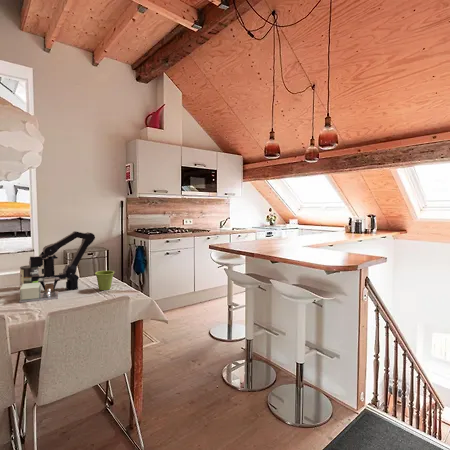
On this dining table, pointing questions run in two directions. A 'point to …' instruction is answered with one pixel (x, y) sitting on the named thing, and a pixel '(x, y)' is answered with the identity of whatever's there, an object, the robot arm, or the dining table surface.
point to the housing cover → (30, 291)
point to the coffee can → (28, 274)
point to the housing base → (43, 296)
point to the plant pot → (104, 279)
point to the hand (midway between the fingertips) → (49, 290)
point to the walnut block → (49, 287)
